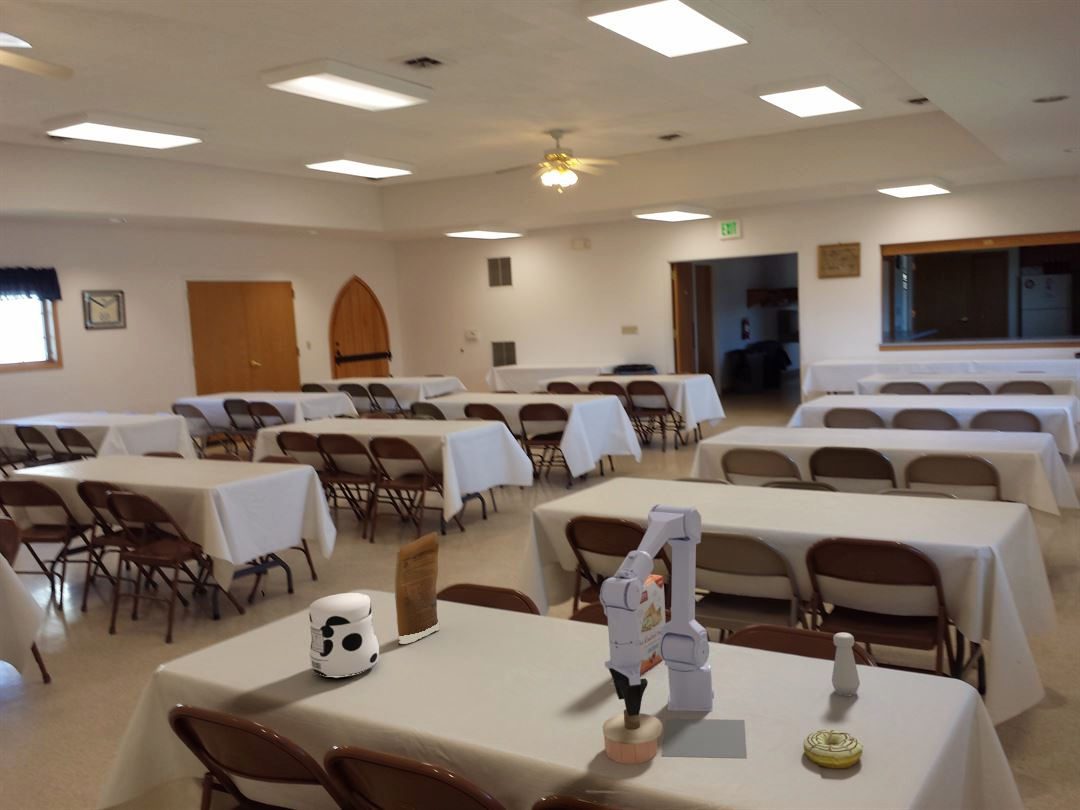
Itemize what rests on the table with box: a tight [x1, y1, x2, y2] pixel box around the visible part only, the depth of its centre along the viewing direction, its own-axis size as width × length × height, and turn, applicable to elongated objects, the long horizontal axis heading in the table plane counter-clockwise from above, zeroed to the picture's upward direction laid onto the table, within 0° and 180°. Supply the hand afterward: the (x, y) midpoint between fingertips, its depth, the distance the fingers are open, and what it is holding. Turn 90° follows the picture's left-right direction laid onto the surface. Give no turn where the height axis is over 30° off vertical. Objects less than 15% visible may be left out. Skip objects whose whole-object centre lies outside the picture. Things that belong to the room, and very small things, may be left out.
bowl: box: [603, 735, 658, 764], centre depth 177 cm, size 10×10×4 cm
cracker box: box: [637, 573, 667, 676], centre depth 219 cm, size 14×6×21 cm, turn 143°
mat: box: [661, 718, 748, 759], centre depth 180 cm, size 16×16×1 cm
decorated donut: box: [803, 728, 864, 770], centre depth 169 cm, size 10×11×4 cm
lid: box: [602, 708, 663, 744], centre depth 176 cm, size 12×12×4 cm
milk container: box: [308, 592, 380, 676], centre depth 231 cm, size 17×17×18 cm
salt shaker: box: [831, 632, 861, 696], centre depth 196 cm, size 6×6×13 cm
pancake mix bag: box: [394, 531, 440, 637], centre depth 251 cm, size 7×19×28 cm, turn 144°
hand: (628, 706), depth 176 cm, fingers open, 7 cm apart
